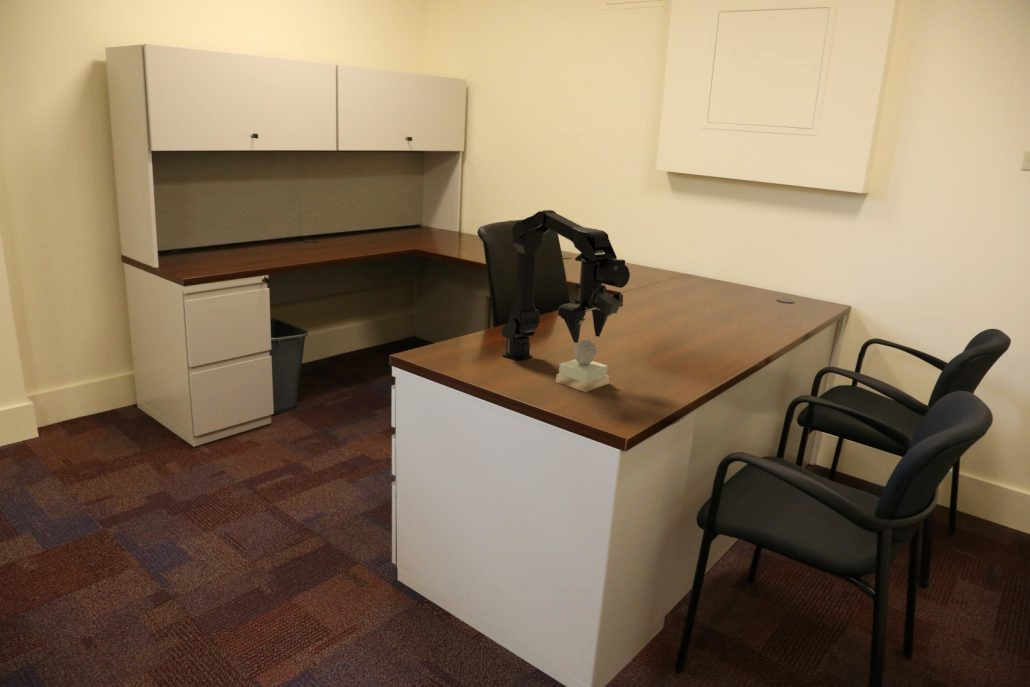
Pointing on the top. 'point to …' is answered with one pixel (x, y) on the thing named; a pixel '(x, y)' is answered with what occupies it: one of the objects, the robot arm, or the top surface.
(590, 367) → the upper block
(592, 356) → the frog figurine
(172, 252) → the top surface
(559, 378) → the lower block
